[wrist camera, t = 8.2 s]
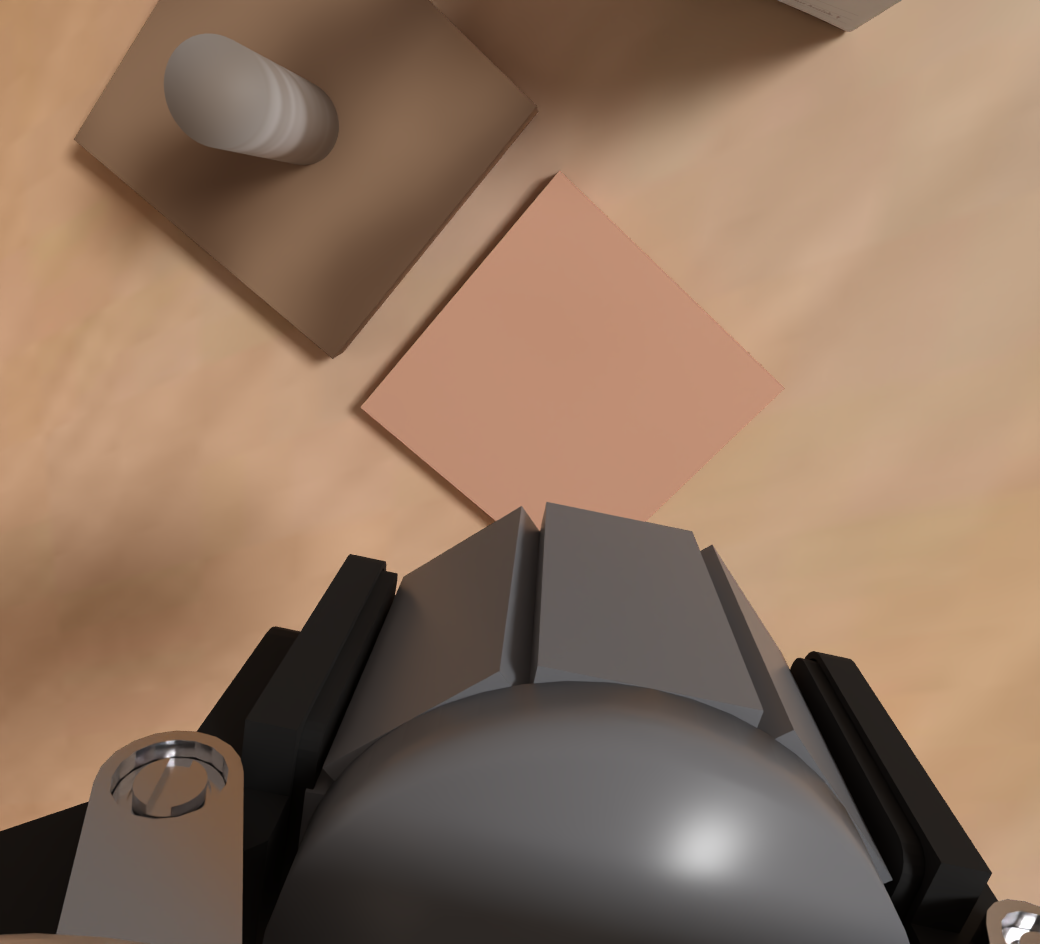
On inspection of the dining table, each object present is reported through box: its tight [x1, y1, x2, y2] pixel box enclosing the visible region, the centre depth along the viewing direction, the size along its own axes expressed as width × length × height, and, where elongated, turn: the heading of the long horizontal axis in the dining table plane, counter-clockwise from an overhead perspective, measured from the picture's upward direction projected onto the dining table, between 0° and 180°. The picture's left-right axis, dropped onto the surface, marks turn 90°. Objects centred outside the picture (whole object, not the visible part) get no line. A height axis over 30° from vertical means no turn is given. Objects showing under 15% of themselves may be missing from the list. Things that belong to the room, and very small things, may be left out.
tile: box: [361, 171, 785, 531], centre depth 31 cm, size 12×12×1 cm
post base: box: [74, 0, 538, 359], centre depth 24 cm, size 12×12×8 cm
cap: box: [263, 502, 910, 944], centre depth 9 cm, size 6×6×5 cm
